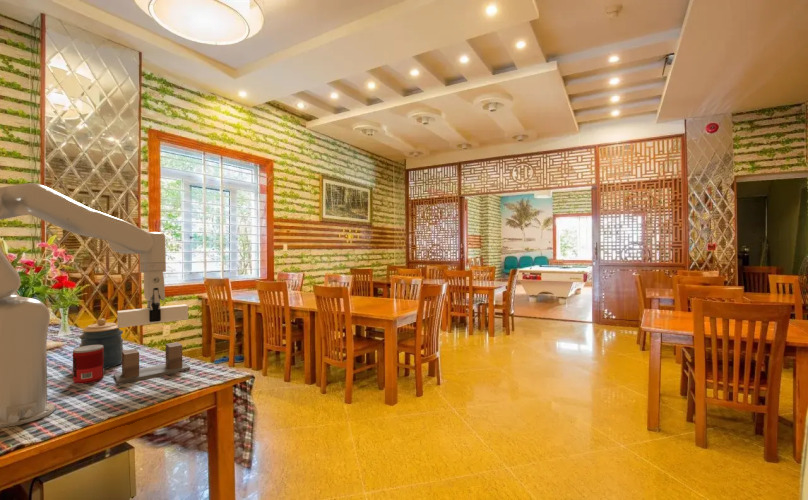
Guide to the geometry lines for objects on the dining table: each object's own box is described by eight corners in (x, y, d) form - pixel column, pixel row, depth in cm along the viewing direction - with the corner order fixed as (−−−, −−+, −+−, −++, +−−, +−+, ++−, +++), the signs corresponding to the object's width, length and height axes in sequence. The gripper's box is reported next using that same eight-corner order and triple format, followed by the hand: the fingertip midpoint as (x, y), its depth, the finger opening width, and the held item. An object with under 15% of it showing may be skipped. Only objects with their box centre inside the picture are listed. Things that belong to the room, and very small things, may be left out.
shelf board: (188, 319, 135) (188, 305, 135) (118, 327, 121) (118, 312, 121) (185, 317, 138) (185, 304, 138) (117, 325, 124) (117, 310, 124)
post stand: (190, 369, 136) (189, 345, 136) (118, 384, 122) (117, 357, 121) (182, 363, 143) (182, 340, 143) (113, 376, 129) (113, 350, 129)
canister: (120, 357, 150) (120, 314, 150) (126, 365, 141) (125, 318, 141) (77, 365, 141) (77, 318, 141) (81, 373, 132) (80, 323, 132)
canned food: (109, 377, 128) (109, 345, 128) (84, 385, 121) (83, 351, 121) (93, 375, 130) (92, 343, 130) (67, 383, 123) (66, 349, 123)
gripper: (170, 268, 125) (171, 322, 126) (161, 266, 138) (162, 315, 138) (143, 269, 120) (144, 326, 121) (136, 267, 133) (137, 318, 133)
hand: (153, 319), depth 129 cm, fingers closed on shelf board, 4 cm apart
